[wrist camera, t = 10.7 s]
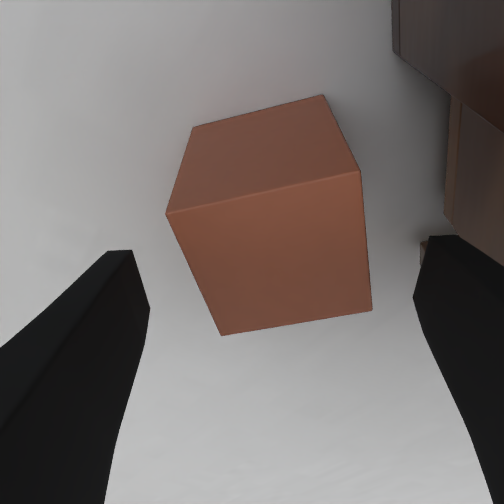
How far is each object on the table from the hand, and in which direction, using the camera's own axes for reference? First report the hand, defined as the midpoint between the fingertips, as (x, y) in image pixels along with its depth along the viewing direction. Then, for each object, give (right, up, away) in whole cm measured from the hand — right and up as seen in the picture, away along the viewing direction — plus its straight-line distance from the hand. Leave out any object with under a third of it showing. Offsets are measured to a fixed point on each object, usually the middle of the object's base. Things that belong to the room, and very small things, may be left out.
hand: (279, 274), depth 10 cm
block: (0, +4, +5) cm, 6 cm away
